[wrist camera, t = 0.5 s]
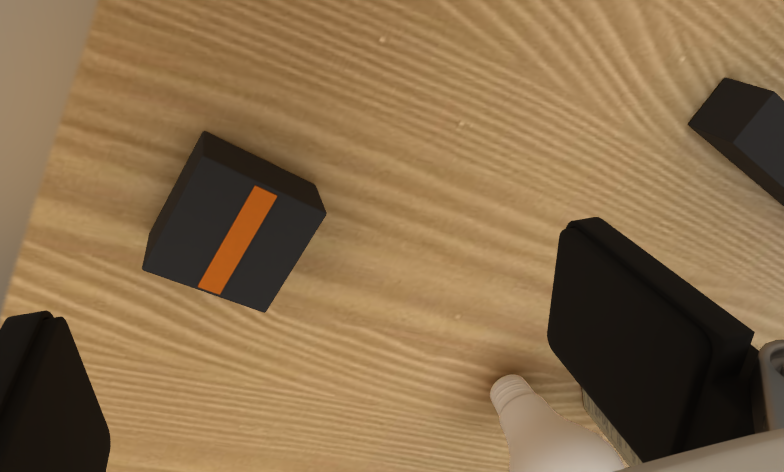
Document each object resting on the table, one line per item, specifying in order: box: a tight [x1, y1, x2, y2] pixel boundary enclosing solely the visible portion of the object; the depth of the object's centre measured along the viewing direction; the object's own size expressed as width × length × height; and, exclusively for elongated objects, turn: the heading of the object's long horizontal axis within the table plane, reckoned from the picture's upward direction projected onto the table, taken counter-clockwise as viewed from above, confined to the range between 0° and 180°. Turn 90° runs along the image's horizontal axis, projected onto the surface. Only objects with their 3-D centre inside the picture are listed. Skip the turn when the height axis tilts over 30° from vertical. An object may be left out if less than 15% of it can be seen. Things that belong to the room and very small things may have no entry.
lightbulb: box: [490, 374, 624, 472], centre depth 32 cm, size 6×6×11 cm
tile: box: [142, 131, 326, 313], centre depth 25 cm, size 6×6×3 cm
